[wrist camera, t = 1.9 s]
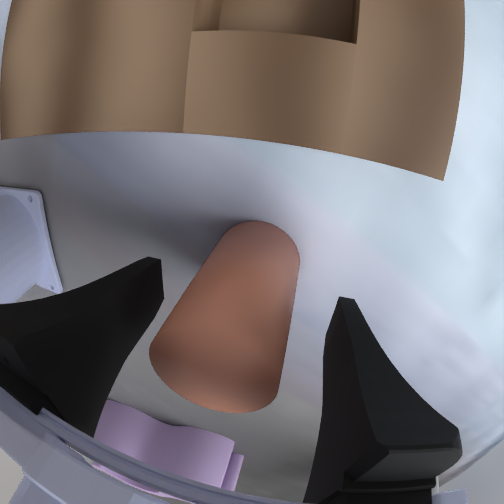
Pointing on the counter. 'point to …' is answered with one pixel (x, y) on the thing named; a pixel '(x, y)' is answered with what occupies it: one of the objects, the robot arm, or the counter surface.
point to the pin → (232, 322)
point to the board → (242, 72)
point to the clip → (167, 448)
